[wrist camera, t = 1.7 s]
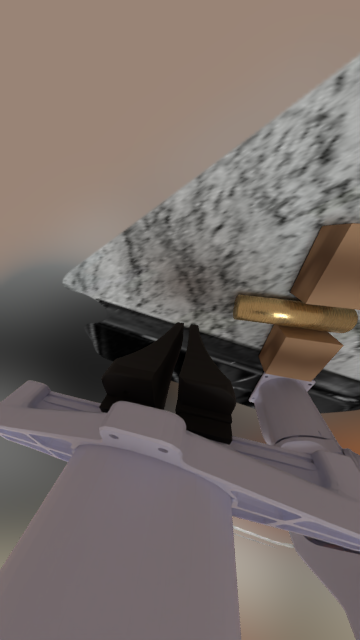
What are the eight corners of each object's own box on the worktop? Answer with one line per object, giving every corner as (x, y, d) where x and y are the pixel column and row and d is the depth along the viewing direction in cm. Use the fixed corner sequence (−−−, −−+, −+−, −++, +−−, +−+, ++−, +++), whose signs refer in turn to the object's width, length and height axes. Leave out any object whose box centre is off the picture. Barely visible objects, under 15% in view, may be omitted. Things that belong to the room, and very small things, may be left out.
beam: (298, 363, 22) (310, 381, 19) (258, 356, 23) (265, 373, 20) (395, 228, 13) (449, 226, 10) (322, 225, 13) (352, 223, 11)
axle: (340, 301, 17) (365, 314, 14) (324, 323, 18) (343, 338, 16) (237, 291, 18) (242, 300, 16) (232, 312, 20) (235, 323, 17)
